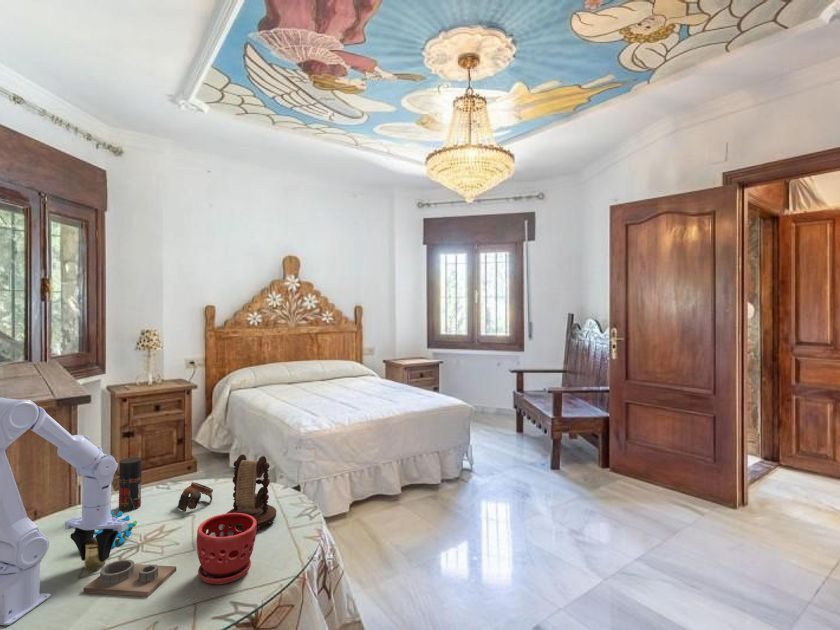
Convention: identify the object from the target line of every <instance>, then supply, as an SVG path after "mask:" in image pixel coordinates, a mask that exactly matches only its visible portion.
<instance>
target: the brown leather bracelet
mask: <svg viewBox="0 0 840 630" xmlns="http://www.w3.org/2000/svg"><path fill="white" fill-rule="evenodd" d="M213 492H214V489H213V488H211V487H210V486H206V485H203V484H201V483H197V482H191V484H190V485H189V486H187V487H185V488H184V489H183V491H182V493H181V495H180V496H179V500H178V505H177V508H178V509H179V510H180V511H182V512H187V509H189V510H194V509H196V508H197V506H198V504H199V502H200V500H201V499H202V495H205V496H208V497H209V499H210V500H209V502H208V503H209V504H211V503H212V501H213V494H212V493H213Z"/></svg>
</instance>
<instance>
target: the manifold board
mask: <svg viewBox="0 0 840 630" xmlns="http://www.w3.org/2000/svg"><path fill="white" fill-rule="evenodd" d="M176 571H177V566H175V565H173V566H172V565H158V564H141V563H140V564H139V563H137V564H136V563H135V561H133V560H131V559H119V560H116V561H112V562H110V563H107V564H105V565H104V566H103V567H101V568H100V571H99V576H97V577H96V578H95V579H93V580H91V581H90V582H89V583H88V584H86V586H84V587H83V593H86V594H103V595H104V594H105V595H106V594H107V595H117V596H118V595H120V596H133V597H134V596H135V597H139V596H140V597H150V596H151V595H152V594H153V593H154V592H155V591H156V590H157V589H159V588H160V587H161V585H163V584H164V583H165V582H166V581H167V580H169V578H170V577H171V576H172V575H174V573H175V572H176Z"/></svg>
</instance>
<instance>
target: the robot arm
mask: <svg viewBox="0 0 840 630" xmlns="http://www.w3.org/2000/svg"><path fill="white" fill-rule="evenodd" d="M28 430H31V431H32V432H34V433H35V434H37V435H38V436H40V437H41V438H43V439H45V440H46V441H47V442H50V444H52V445H54V446H55V447H57V456H58V457H59V458H61V459H63V460H64V461H66V463H67V464H70V465H71V466H72V467H74V468H75V472H76V474H77V475H78V476H82V492H81V493H82V495H81V504H82V505H81V517H75V518H74V517H71V518H69V519H67V520H65V521H64V530H71V529H74V531H73V532H72V533H70V535H69V536H70V539H71V540H72V541H73V542H74V544H75V545H76V547H77V550H78V553H79V555H80V559H81V561H84V562H85V542H86V541H88V540H90V539H92V538H93V537H96V539H97V542H98V546H99V560H100V562H103V561H105V562H106V560H107V559H108V558H110V555H111V550H112V549H113V548H112V545H113V542H114V540H115V541H116V539H117V538H116V536H117V534H118V533H119V532H123V531H124V530H126V529H127V524H128V521H123V520H119V519H120V518H118V519H116V518H114V517H113V515H111V511H112V510H111V508H112V507H111V506H112V483H113V481H114V475H115V473H116V471H117V469H118V466H119V463H118V462H117V461H116V459H115V457H114V455H111V454H106V453H104V452H103V448H102V447H99V446H96V445H95V444H93V443H92V441H90V440H91V438H90V437H89V436H88V435H85V434H84V435H83V434H74V435H72V434H71V433H70V432H69V431H67V430H66V429H65V428H64V427H63V426H61V424H60V423H58V422H57V421H56V420H55V419H54V418H53V417H51V415H49V414H48V413H47V412H46V410H45V408H43V407H41V406H39V405H37V404H36V403H35V402H33V400H29V399H14V398H5V397H2V396H0V626H10V625H12V624H14V623H15V622H16V621H18V620H19V619H20V618H22V617H23V616H25V615H26V614H27V613H29V612H31V611H32V610H33V609H35V608H36V607H38V606H39V605H40V604H42V603H43V602H45V601H46V600H48V599H49V598H50V597H51V593H41V592H40V591H41V589H40V588H41V587H40V585H41V583H40V582H41V581H40V580H41V563H42V559H44V557H45V556H46V554H47V553H48V551H49V547H50V540H49V538H48V537H47V536H46V535H44V534H43V533H42V532H41V531H40V528H39V526H38V525H37V524H35V522H34V521H32V519H30V518H29V517H28V514H27V512H26V508H25V506H24V504H23V503H24V502H23V500H22V498H21V497H22V496H21V494H20V491H19V487H18V485H17V483H16V479H15V477H14V473H13V471H12V468H11V465H10V462H9V459H8V456H7V454H6V450H7V448H8V447H9V446H10V445H11V444H13V442H15V441H16V440H17V439H18V438H20V437H21V436H22V435H23V434H24V433H26V432H27V431H28ZM96 530H97V531H98V530H103V532H101V533H99V534H98V535H95V536H94V532H95V531H96ZM115 538H116V539H115Z"/></svg>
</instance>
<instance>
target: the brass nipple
mask: <svg viewBox="0 0 840 630" xmlns="http://www.w3.org/2000/svg"><path fill="white" fill-rule="evenodd" d="M104 566H106V560H105V561H103V562H100V560H99V546H98V542H97V539H96V538H92V539H90V540H88V541H86V542H85V561H84V569H85V571H94V570H98V569H102V568H103V567H104Z"/></svg>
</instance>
